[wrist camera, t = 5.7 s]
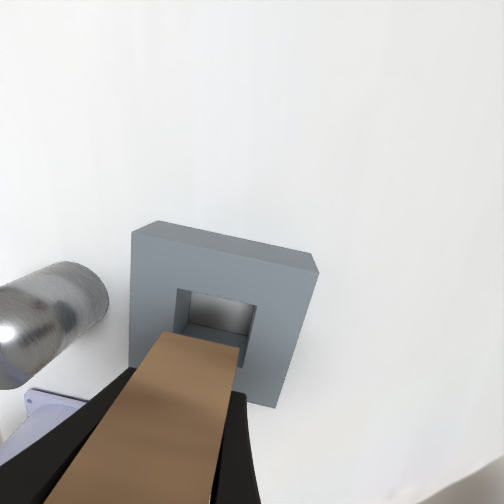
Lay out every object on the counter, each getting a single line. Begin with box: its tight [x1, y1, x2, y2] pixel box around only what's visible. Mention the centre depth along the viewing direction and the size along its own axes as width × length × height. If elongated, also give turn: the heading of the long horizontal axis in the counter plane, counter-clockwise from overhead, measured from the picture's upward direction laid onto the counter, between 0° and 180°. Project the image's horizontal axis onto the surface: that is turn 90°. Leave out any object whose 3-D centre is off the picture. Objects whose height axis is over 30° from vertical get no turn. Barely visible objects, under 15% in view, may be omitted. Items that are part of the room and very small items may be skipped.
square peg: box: [43, 331, 240, 504], centre depth 9 cm, size 4×4×6 cm
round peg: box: [0, 261, 109, 390], centre depth 15 cm, size 5×5×6 cm
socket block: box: [129, 221, 319, 408], centre depth 15 cm, size 10×10×3 cm
